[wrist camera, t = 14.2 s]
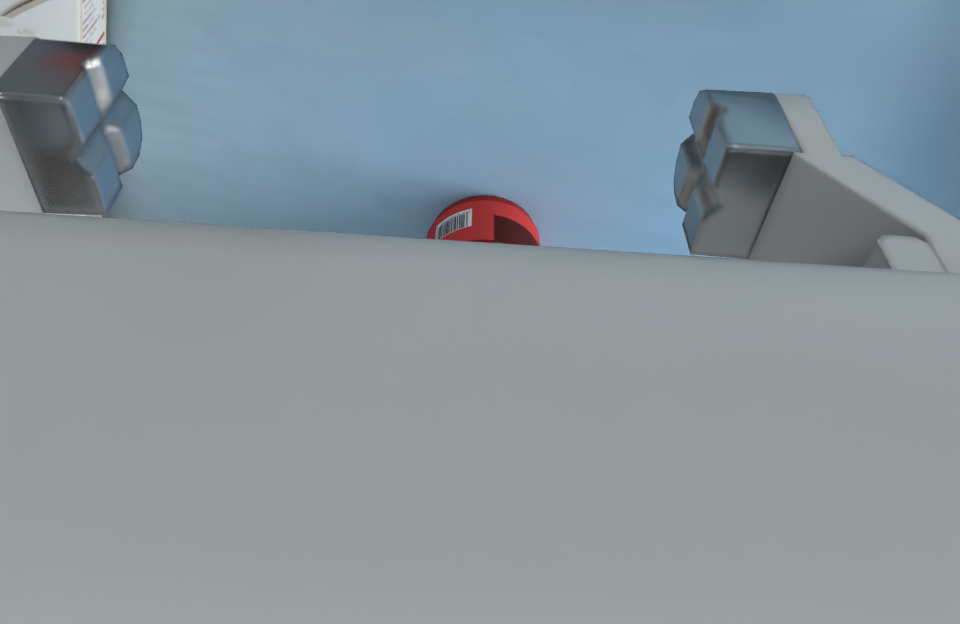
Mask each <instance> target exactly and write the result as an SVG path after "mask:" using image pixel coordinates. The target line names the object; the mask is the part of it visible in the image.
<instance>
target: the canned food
mask: <svg viewBox="0 0 960 624" xmlns="http://www.w3.org/2000/svg"><path fill="white" fill-rule="evenodd" d="M426 239H439V240H454V241H469V242H485V243H500V244H516V245H531V246H540V243H539V235H538V232H537V229H536V227H535V225H534V223H533V222H532V220H531V218H530V217H529V215H528V214H527V213H526V212H525V211H524V210H523V209H522V208H521V207H520V206H518V205H517V204H515V203H513V202H511V201H509V200H506V199H504V198H500V197H495V196H474V197H469V198H466V199H462V200H460V201H457V202H455V203H453V204H451V205H450V206H449V207H447V208H446V209H444V210H443V211H442V212H441V213H440V215H439V216H438V217H437V218H436V220H435V222H434V223H433V225H432V227H431V228H430V230H429V232H428V235H427V238H426Z"/></svg>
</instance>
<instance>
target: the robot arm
mask: <svg viewBox="0 0 960 624" xmlns="http://www.w3.org/2000/svg"><path fill="white" fill-rule="evenodd" d="M128 77H129V74H128V71H127V68H126V64H125V61H124V58H123V54H122V53H121V52H120V51H119V50H118V48H117V47H116V46H115V45H108V44H97V43H86V42H76V41H65V40H54V39H44V38H43V39H40V38H38V37H25V36H0V624H960V219H958V218H956V217H955V216H953V215H951V214H950V213H948V212H946V211H945V210H943V209H941V208H939V207H938V206H936V205H934V204H933V203H931V202H929V201H928V200H926V199H924V198H922V197H921V196H919V195H917V194H916V193H914V192H912V191H911V190H909V189H907V188H905V187H904V186H902V185H900V184H899V183H897V182H895V181H893V180H892V179H890V178H888V177H887V176H885V175H883V174H882V173H880V172H878V171H876V170H875V169H873V168H871V167H870V166H868V165H866V164H865V163H863V162H861V161H859V160H858V159H856V158H854V157H852V156H842V155H841V153H840V151H839V149H838V148H837V146H836V144H835V142H834V140H833V139H832V137H831V135H830V133H829V131H828V130H827V128H826V126H825V124H824V123H823V121H822V119H821V117H820V115H819V114H818V112H817V110H816V108H815V106H814V105H813V103H812V101H811V99H810V98H809V97H807V96H805V95H801V94H773V93H764V92H744V91H724V90H702V91H699V93H698V95H697V97H696V99H695V101H694V103H693V106H692V109H691V113H690V116H689V119H690V122H691V125H692V128H693V132H694V133H693V134H692V135H691V136H690V137H688V138H687V139H686V140H685V141H684V142H683V143H682V144H681V146H680V149H679V153H678V157H677V161H676V165H675V174H674V194H675V199H676V203H677V206H679V207H680V208H681V209H682V210H684V211H685V212H686V215H685V218H684V221H683V224H682V225H683V229H684V232H685V236H686V240H687V243H688V247H689V250H690V254H696V255H707V256H718V257H729V258H715V257H700V256H684V255H669V254H654V253H638V252H623V251H608V250H592V249H577V248H562V247H546V246H531V245H516V244H500V243H485V242H469V241H454V240H439V239H424V238H409V237H393V236H378V235H363V234H348V233H333V232H318V231H302V230H287V229H272V228H257V227H242V226H226V225H211V224H196V223H181V222H166V221H151V220H135V219H120V218H105V217H90V216H75V215H60V214H78V215H103V216H106V215H107V213H108V212H109V210H110V208H111V206H112V205H113V203H114V201H115V199H116V198H117V196H118V194H119V192H120V190H121V189H122V183H121V180H120V177H119V175H121V174H123V173H125V172H127V171H129V170H130V169H132V168H133V167H134V165H135V163H136V161H137V159H138V157H139V155H140V148H141V142H142V129H141V120H140V116H139V112H138V108H137V105H136V104H135V103H134V102H133V101H132V100H131V99H130V98H129V96H128V95H127V94H126V93H125V92H124V91H123V90H122V88H123V86H124V85H125V83H126V81H127V79H128ZM44 213H53V214H44ZM730 258H740V259H730ZM746 259H748V260H746Z"/></svg>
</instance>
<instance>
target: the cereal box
mask: <svg viewBox="0 0 960 624" xmlns="http://www.w3.org/2000/svg"><path fill="white" fill-rule="evenodd" d="M106 21H107V0H0V36H25V37H38V38H40V39H43V38H44V39H54V40H65V41H76V42H86V43H97V44H106ZM44 214H53V213H44ZM60 215H75V216H90V217H102V215H78V214H60Z"/></svg>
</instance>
